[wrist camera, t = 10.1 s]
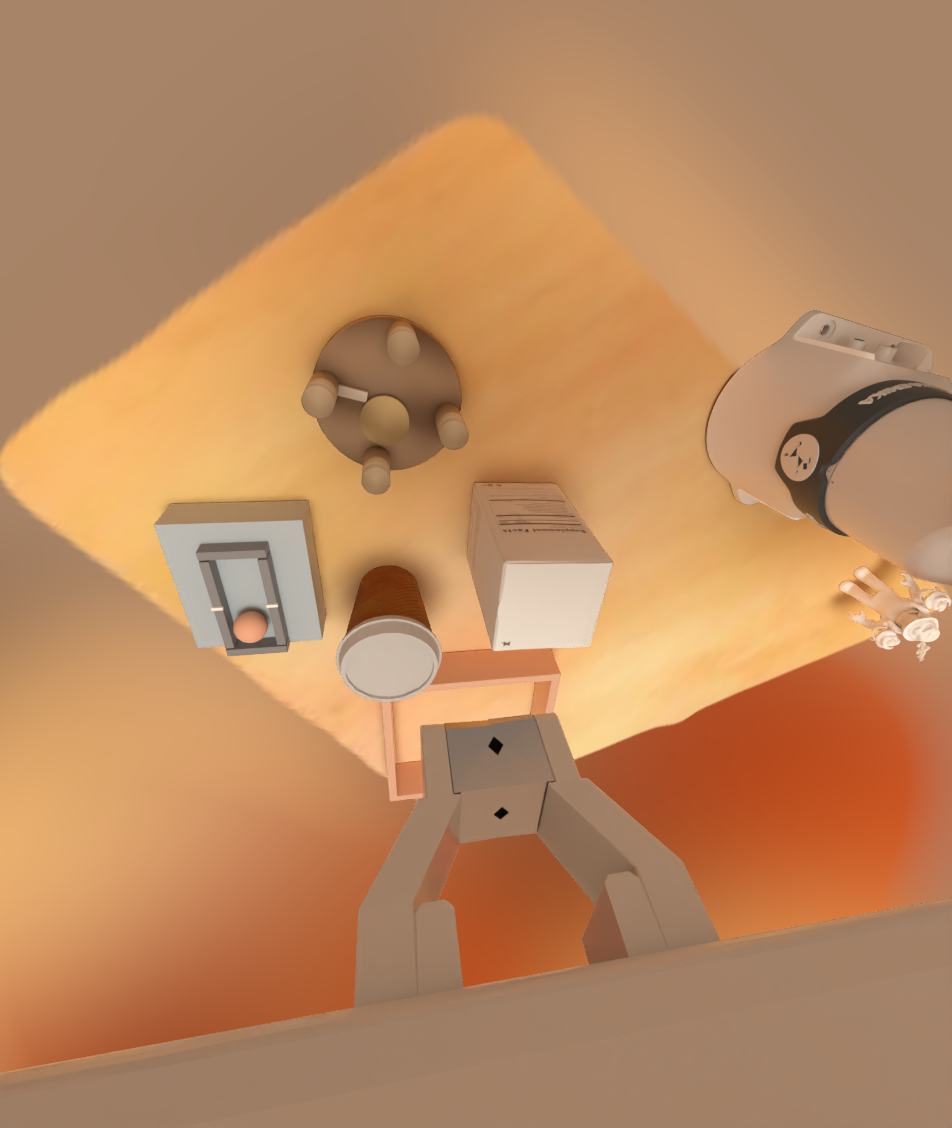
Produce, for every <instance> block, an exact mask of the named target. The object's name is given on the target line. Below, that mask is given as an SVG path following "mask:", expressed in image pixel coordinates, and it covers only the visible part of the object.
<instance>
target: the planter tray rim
mask: <svg viewBox="0 0 952 1128" xmlns="http://www.w3.org/2000/svg"><path fill="white" fill-rule="evenodd" d="M560 676H561V673H560V671H559V668H558V666H557V663H556V661H555V658H554V656H553V653H552V651H551V648H540V649H520V650H503V651H493V650H492V649H488V650H475V651H461V652H448V653H442V660H441V663H440V667H439V668H438V670H437V673H436V676H435V678H434V679H433V681H432V682H431V684H430V685H429V686H428V687H427V688H426V689H425V690H423V691H422V692H425V691H437V690H448V689H460V688H471V687H483V686H494V685H506V684H517V683H529V682H536V683H535V689H534V695H533V701H532V707H531V715H536V714H545V713H553V711H554V706H555V701H556V696H557V691H558V686H559V681H560ZM381 704H382V716H383V727H384V738H385V750H386V761H387V772H388V784H389V795H390V801H396V800H405V799H414V798H422V797H423V790H422V771H421V761H416V762H407V763H398V764H396V751H395V737H394V723H393V708H392V702H381Z"/></svg>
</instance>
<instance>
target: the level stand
mask: <svg viewBox="0 0 952 1128" xmlns="http://www.w3.org/2000/svg"><path fill="white" fill-rule="evenodd" d="M154 527H155V530H156V533H157V535H158V538H159V541H160V544H161V547H162V549H163V552H164V555H165V558H166V560H167V563H168V566H169V569H170V572H171V574H172V577H173V580H174V583H175V586H176V588H177V591H178V594H179V597H180V600H181V602H182V605H183V608H184V611H185V614H186V616H187V619H188V622H189V625H190V628H191V630H192V633H193V636H194V639H195V641H196V644H197V647H198V648H206V647H221V646H225V648H226V651H227V654H228V656H238V655H252V654H266V653H280V652H288V648H289V644H290V642H294V641H309V640H322V638H323V631H324V624H325V618H326V612H325V606H324V600H323V593H322V587H321V580H320V574H319V568H318V561H317V555H316V549H315V542H314V536H313V529H312V523H311V517H310V510H309V504H308V500H297V501H258V502H219V503H180V504H170V505H169V507H168V508H167V509H166V510H165V512H164V513H163V514H162V515H161V517H160V518H159V519H158V520H157V522H156V523H155V524H154ZM249 611H254V612H258V613H260V614H262V615H263V616H264V617H265V618H266V620H267V623H268V629H267V632H266V634H265V636H264V637H263V638H262V639H261V640H259V641H257V642H254V643H245V642H242V641H241V640H239V639H238V638H237V637H236V636H235V634H234V630H233V626H234V622H235V620H236V619H237V617H238V616H240V615H241V614H243V613H245V612H249Z"/></svg>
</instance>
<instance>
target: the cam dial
mask: <svg viewBox="0 0 952 1128" xmlns="http://www.w3.org/2000/svg"><path fill="white" fill-rule="evenodd" d="M301 401H302V406H303V408H304V410H305V411H306V412H307V413H308V414H309V415H311V416H312V417H315V418H317V421H318V423H319V425H320V427H321V429H322V431H323V432H324V434H325V435H326V437H327V438H328V439H329V441H330V442H331V443H332V444H333V445H334V446H335V447H336V448H337V449H338V450H339V451H340V452H341V453H343V454H344V455H345V456H347V457H348V458H350V459H352V460H353V461H355V462H357V463H360V464H362V465H363V472H362V485H363V487H364V489H365V490H366V491H367V492H369V493H371V494H382V493H384V492H386V491H387V490H388V488H389V486H390V470H401V469H406V468H410V467H413V466H416V465H419V464H421V463H423V462H425V461H427V460H428V459H430V458H431V457H433V456H434V455H435V454H437V453H438V452H439V451H440V450H441V449H442V448H443V447H444V446H445V447H446V448H448V449H451V450H457V449H460V448H462V447H463V446H464V445H465V444H466V443H467V441H468V437H469V433H468V430H467V427H466V425H465V423H464V421H463V418H462V416H461V414H460V410H461V389H460V383H459V379H458V376H457V373H456V370H455V368H454V366H453V363H452V361H451V360H450V358H449V356H448V354H447V353H446V351H445V349H444V348H443V347H442V345H441V344H440V343H439V342H438V340H437V339H436V338H435V337H434V336H433V335H431V334H430V333H429V332H428V331H427V330H425V329H424V328H422V327H421V326H419V325H417V324H415V323H414V322H411V321H409V320H406V319H404V318H400V317H395V316H388V315H376V316H369V317H364V318H361V319H358V320H356V321H353V322H351V323H349V324H348V325H346V326H344V327H343V328H342V329H340V330H339V331H338V332H337V333H336V334H335V335H334V336H333V337H332V338H331V339H330V340H329V342H328V343H327V345H326V346H325V348H324V349H323V351H322V353H321V355H320V357H319V359H318V361H317V363H316V366H315V369H314V372H313V376H312V377H311V379H310V381H309V383H308V385H307V387H306V389H305V391H304V393H303V395H302V400H301Z"/></svg>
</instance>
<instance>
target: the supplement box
mask: <svg viewBox="0 0 952 1128" xmlns="http://www.w3.org/2000/svg"><path fill="white" fill-rule="evenodd" d="M467 560H468V563H469V567H470V571H471V574H472V578H473V581H474V585H475V589H476V592H477V596H478V599H479V603H480V607H481V610H482V614H483V617H484V621H485V624H486V628H487V632H488V635H489V639H490V642H491V646H492V650H493V651H503V650H520V649H540V648H575V647H588V646H590V644H591V641H592V637H593V633H594V630H595V626H596V623H597V619H598V616H599V612H600V608H601V605H602V601H603V598H604V594H605V591H606V587H607V583H608V579H609V576H610V572H611V569H612V565H613V561H612V560H611V558H610V557H609V556H608V554H607V553H606V552H605V550H604V549H603V547H602V546H601V545H600V543H599V542H598V540H597V539H596V538H595V536H594V535H593V533H592V532H591V531H590V529H589V528H588V527H587V525H586V524H585V522H584V521H583V520H582V518H581V517H580V515H579V514H578V513H577V511H576V510H575V508H574V507H573V506H572V504H571V503H570V502H569V500H568V499H567V497H566V496H565V495H564V493H563V492H562V490H561V489H560V488H559V486H558V485H557V484H553V483H474V484H473V492H472V503H471V514H470V525H469V536H468V548H467Z"/></svg>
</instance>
